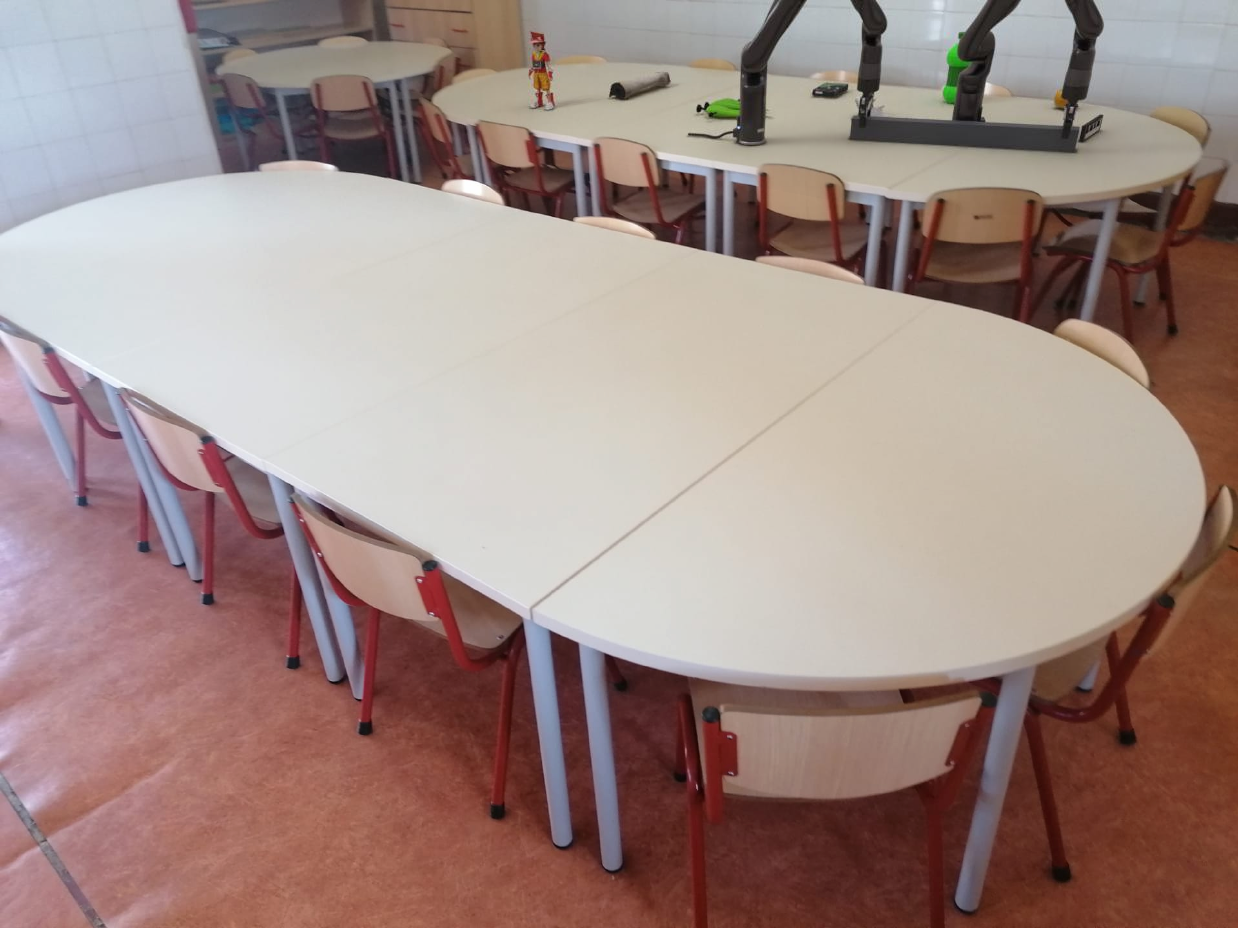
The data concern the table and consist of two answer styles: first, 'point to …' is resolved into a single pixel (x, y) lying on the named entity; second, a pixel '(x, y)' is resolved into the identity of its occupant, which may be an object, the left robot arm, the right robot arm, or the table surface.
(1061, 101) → the fruit
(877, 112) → the anatomical model
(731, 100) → the toy
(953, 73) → the plastic bottle
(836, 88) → the disk drive
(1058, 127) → the post
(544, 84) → the toy
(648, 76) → the rolled mat
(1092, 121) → the midi keyboard
